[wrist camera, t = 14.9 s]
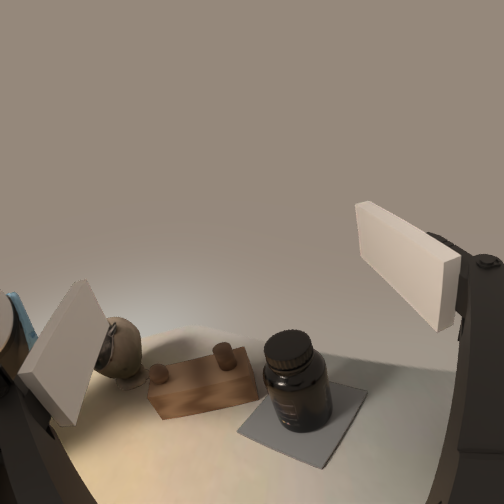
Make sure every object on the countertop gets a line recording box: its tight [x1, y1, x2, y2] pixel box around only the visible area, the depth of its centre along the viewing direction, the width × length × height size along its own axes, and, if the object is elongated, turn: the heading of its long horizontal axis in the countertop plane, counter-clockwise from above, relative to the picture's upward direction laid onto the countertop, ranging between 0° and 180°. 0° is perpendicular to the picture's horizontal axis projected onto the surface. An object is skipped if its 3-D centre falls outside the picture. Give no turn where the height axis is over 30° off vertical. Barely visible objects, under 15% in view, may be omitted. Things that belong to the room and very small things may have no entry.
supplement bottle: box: [263, 329, 333, 433], centre depth 33 cm, size 7×7×12 cm
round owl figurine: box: [94, 317, 149, 390], centre depth 48 cm, size 10×12×10 cm
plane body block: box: [147, 342, 259, 420], centre depth 41 cm, size 14×6×8 cm, turn 98°
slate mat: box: [237, 381, 367, 469], centre depth 36 cm, size 12×12×1 cm
